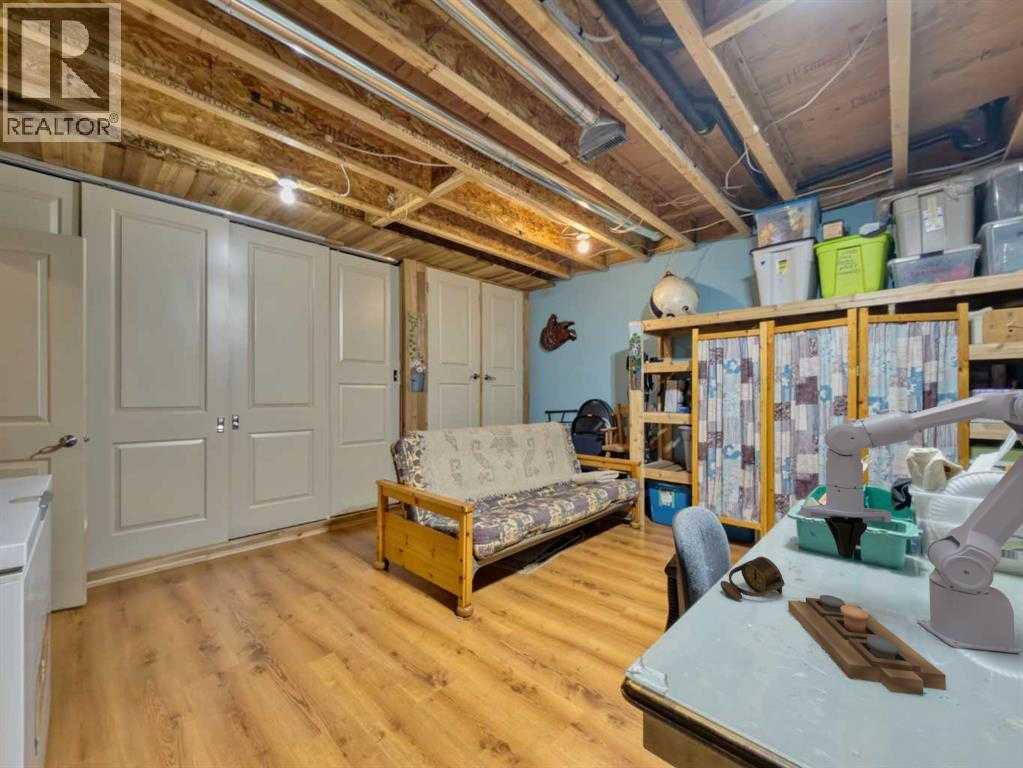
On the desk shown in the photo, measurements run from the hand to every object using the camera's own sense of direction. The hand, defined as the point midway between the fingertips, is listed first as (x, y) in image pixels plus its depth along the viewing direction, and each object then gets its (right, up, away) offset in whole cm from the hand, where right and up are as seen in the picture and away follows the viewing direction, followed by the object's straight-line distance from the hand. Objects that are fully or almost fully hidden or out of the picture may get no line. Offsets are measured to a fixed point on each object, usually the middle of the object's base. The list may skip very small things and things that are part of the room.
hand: (845, 556), depth 82 cm
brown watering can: (-14, -11, +8) cm, 20 cm away
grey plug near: (-9, -9, -18) cm, 22 cm away
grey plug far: (-6, -10, -4) cm, 12 cm away
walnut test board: (-7, -10, -11) cm, 17 cm away
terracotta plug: (-7, -8, -11) cm, 15 cm away
